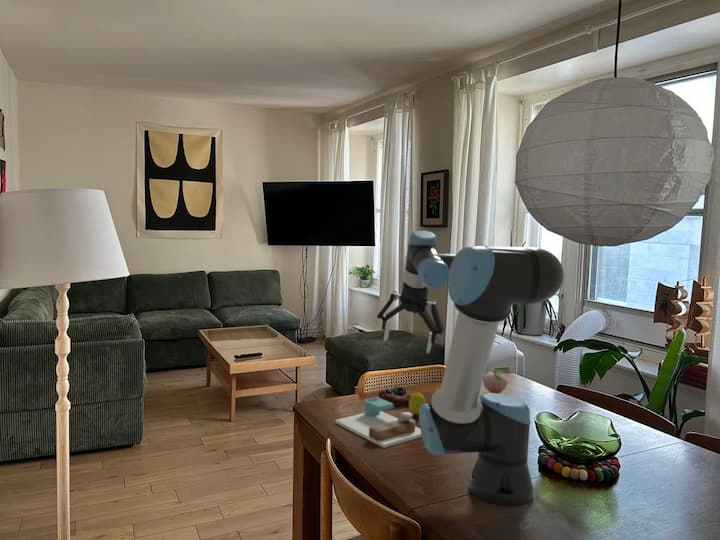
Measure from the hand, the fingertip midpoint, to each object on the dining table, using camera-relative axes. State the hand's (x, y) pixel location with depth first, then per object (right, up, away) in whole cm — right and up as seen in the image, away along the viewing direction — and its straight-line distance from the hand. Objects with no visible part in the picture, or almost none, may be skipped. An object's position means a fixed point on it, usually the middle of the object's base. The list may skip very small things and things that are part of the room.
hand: (406, 345), depth 176 cm
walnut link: (-4, -26, -2) cm, 27 cm away
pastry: (-1, -25, +30) cm, 39 cm away
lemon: (+5, -26, +17) cm, 32 cm away
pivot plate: (-8, -27, +4) cm, 28 cm away
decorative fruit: (+36, -25, +42) cm, 61 cm away
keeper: (-9, -26, +12) cm, 30 cm away
